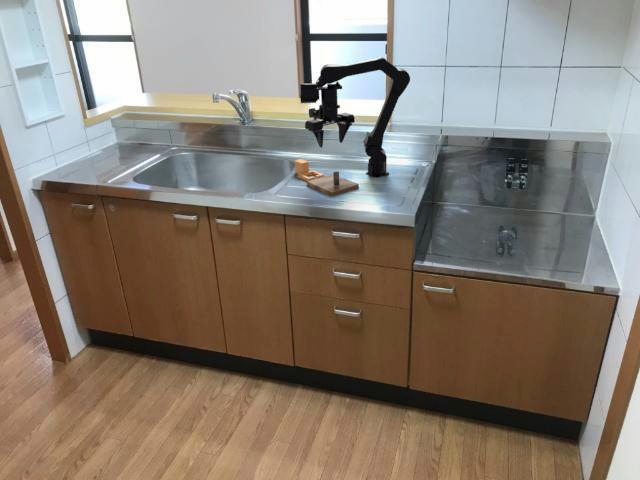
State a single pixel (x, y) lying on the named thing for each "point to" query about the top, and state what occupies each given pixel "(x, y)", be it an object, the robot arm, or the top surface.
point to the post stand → (332, 184)
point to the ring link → (305, 170)
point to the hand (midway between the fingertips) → (331, 144)
